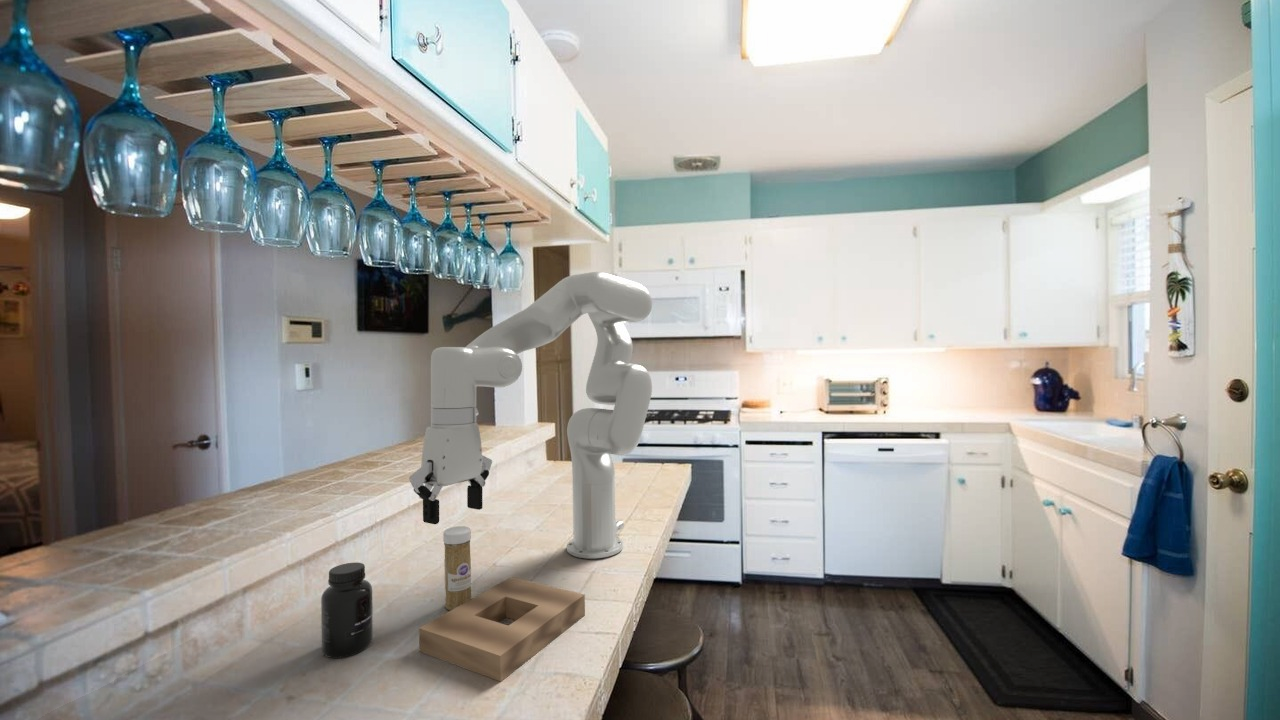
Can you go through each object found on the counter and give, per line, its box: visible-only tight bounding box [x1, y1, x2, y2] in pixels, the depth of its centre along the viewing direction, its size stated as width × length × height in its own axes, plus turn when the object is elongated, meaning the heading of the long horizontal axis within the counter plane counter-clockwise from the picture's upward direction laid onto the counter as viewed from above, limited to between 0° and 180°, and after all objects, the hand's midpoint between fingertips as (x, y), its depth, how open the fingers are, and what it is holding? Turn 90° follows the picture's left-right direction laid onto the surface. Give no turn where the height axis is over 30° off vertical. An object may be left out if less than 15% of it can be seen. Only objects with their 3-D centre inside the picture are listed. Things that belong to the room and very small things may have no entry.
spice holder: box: [418, 576, 586, 682], centre depth 83 cm, size 20×16×4 cm
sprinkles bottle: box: [442, 525, 472, 611], centre depth 92 cm, size 5×5×14 cm
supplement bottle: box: [320, 562, 374, 659], centre depth 80 cm, size 7×7×12 cm
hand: (454, 515), depth 92 cm, fingers open, 9 cm apart
